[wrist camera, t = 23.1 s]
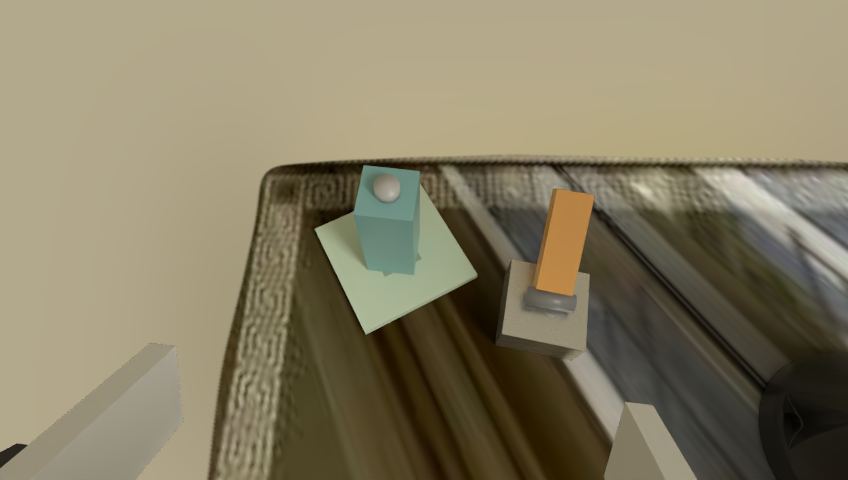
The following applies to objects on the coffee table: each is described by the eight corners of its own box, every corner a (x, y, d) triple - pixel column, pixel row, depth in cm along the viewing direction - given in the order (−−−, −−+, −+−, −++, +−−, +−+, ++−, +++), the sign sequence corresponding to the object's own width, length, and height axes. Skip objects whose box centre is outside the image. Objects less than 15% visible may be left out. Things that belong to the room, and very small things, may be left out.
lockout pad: (419, 186, 49) (419, 181, 49) (476, 277, 45) (477, 274, 44) (316, 232, 47) (314, 228, 46) (365, 334, 42) (364, 332, 41)
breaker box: (571, 360, 41) (585, 351, 38) (494, 344, 42) (501, 333, 38) (575, 287, 45) (589, 272, 41) (504, 273, 45) (512, 257, 42)
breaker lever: (574, 316, 38) (601, 196, 37) (526, 306, 38) (551, 187, 37) (569, 310, 40) (594, 196, 39) (523, 301, 40) (547, 188, 39)
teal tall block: (419, 233, 46) (420, 163, 35) (414, 275, 44) (412, 214, 33) (375, 228, 46) (362, 157, 35) (367, 269, 44) (351, 207, 33)
